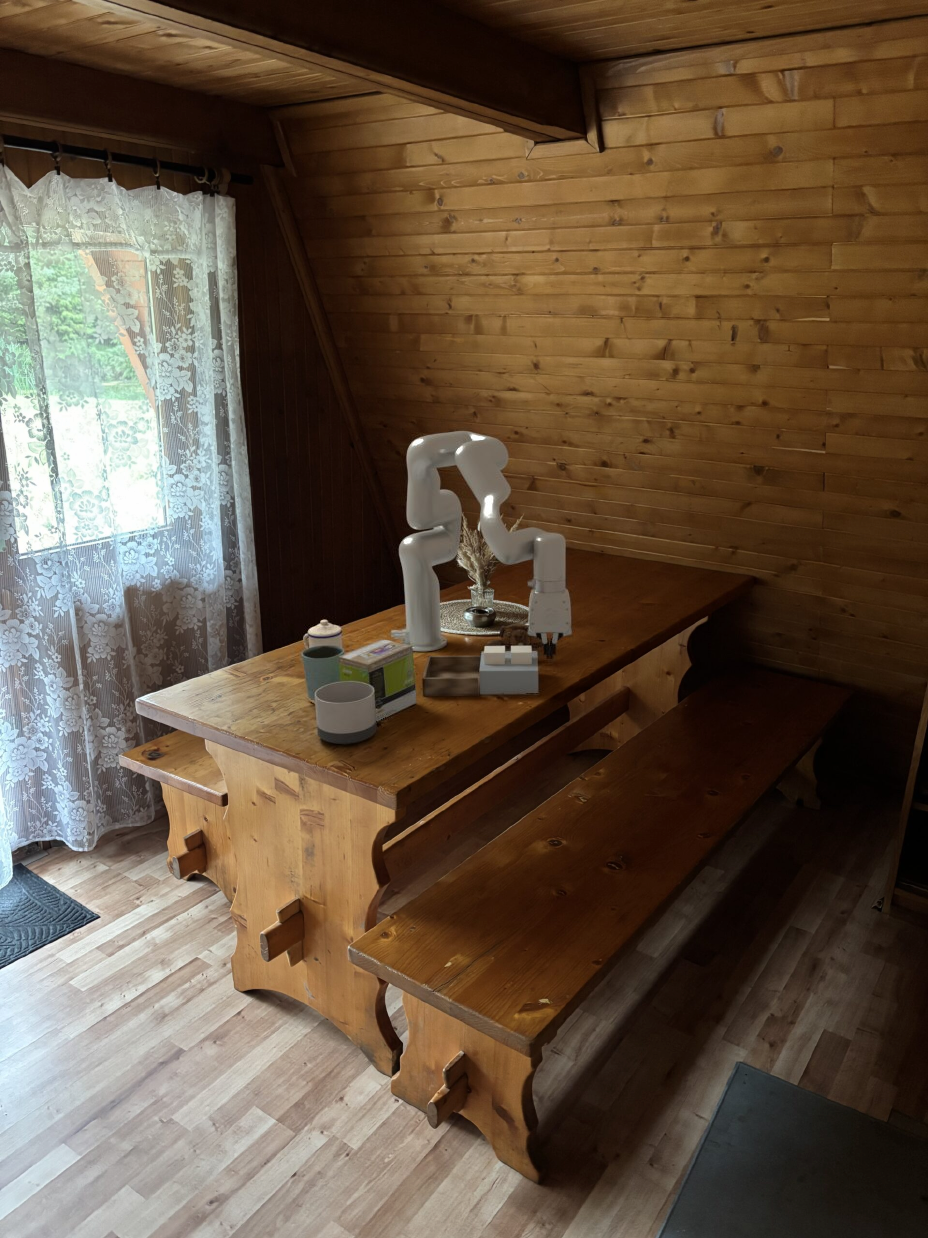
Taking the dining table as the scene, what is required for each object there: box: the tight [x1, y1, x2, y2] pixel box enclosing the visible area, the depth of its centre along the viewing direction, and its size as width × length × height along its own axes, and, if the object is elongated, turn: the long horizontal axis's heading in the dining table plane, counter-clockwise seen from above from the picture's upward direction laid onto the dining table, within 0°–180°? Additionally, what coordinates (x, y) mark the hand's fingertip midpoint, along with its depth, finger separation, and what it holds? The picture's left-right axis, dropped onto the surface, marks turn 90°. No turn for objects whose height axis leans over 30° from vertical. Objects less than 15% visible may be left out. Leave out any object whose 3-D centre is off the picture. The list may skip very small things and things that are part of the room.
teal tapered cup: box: [301, 645, 345, 701], centre depth 229 cm, size 10×10×12 cm
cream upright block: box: [511, 646, 532, 664], centre depth 234 cm, size 5×5×3 cm
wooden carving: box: [485, 623, 543, 658], centre depth 250 cm, size 16×5×10 cm, turn 90°
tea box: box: [339, 638, 418, 722], centre depth 221 cm, size 15×10×15 cm
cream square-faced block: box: [483, 645, 505, 664], centre depth 235 cm, size 5×5×3 cm
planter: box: [314, 681, 378, 745], centre depth 208 cm, size 13×13×10 cm
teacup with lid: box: [302, 619, 343, 649], centre depth 254 cm, size 12×9×12 cm
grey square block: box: [479, 650, 539, 695], centre depth 236 cm, size 14×14×6 cm
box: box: [421, 655, 481, 697], centre depth 237 cm, size 13×16×4 cm
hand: (549, 657), depth 234 cm, fingers closed
